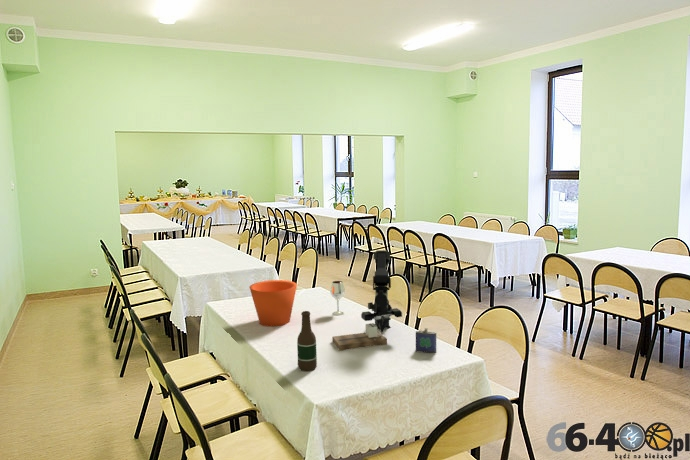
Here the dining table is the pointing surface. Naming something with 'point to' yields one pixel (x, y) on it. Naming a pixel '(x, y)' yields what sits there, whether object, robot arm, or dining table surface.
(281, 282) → the flowerpot
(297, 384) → the dining table surface
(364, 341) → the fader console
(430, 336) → the flask
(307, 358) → the beer bottle
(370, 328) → the fader knob
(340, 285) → the wineglass
